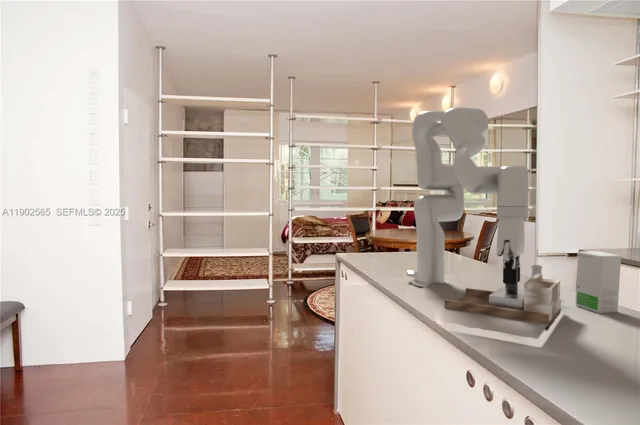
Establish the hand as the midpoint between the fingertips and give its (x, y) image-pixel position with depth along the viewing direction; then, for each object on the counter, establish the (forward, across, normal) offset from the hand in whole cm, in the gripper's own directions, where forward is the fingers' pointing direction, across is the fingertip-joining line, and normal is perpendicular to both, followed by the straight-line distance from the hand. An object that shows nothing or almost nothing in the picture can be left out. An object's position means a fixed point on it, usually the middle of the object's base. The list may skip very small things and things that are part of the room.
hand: (511, 281), depth 115 cm
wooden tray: (+9, 0, -2) cm, 9 cm away
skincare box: (+9, -19, +18) cm, 27 cm away
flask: (+9, -23, +2) cm, 25 cm away
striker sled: (+7, 0, 0) cm, 7 cm away
